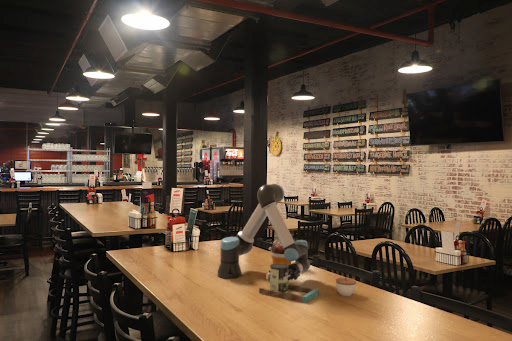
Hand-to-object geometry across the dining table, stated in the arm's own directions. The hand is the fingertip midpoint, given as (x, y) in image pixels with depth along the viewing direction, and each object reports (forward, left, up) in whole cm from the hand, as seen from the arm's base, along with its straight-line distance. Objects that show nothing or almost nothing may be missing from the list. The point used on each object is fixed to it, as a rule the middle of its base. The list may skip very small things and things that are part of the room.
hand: (275, 278), depth 213 cm
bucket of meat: (-25, +54, -9) cm, 60 cm away
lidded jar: (+32, +21, -9) cm, 39 cm away
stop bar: (+19, +4, -8) cm, 21 cm away
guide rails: (+6, +4, -8) cm, 11 cm away
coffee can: (0, +4, -8) cm, 9 cm away
